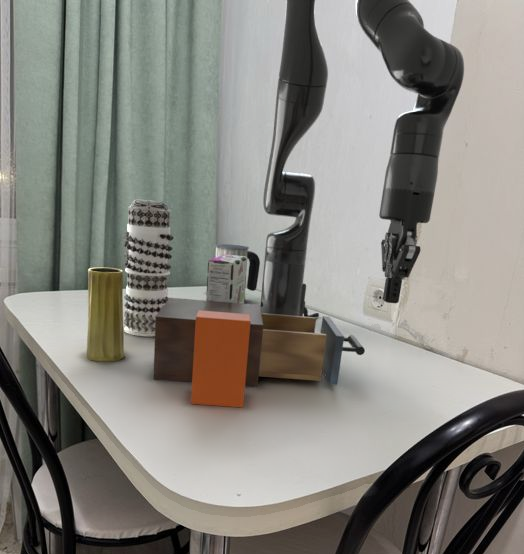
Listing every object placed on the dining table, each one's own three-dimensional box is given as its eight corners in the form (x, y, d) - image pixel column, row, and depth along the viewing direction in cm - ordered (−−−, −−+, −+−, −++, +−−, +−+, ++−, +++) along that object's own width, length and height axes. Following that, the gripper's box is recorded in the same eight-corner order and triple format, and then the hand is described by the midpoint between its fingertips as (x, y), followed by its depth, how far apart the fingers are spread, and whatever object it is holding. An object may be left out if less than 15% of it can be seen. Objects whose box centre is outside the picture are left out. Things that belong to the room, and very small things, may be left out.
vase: (131, 355, 85) (133, 270, 81) (110, 364, 80) (110, 274, 76) (101, 348, 87) (101, 265, 83) (77, 357, 81) (76, 269, 77)
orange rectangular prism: (242, 396, 72) (250, 314, 68) (243, 407, 68) (250, 321, 65) (193, 393, 71) (198, 310, 68) (190, 404, 68) (195, 316, 64)
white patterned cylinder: (158, 323, 107) (163, 201, 100) (177, 335, 100) (183, 203, 93) (116, 326, 102) (117, 197, 95) (132, 338, 95) (134, 199, 88)
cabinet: (255, 357, 90) (260, 304, 87) (257, 386, 76) (263, 325, 74) (167, 351, 89) (169, 297, 86) (153, 379, 75) (155, 316, 73)
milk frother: (231, 305, 132) (236, 248, 128) (185, 295, 140) (188, 241, 135) (261, 300, 143) (266, 247, 139) (217, 290, 151) (220, 240, 147)
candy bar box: (218, 335, 103) (224, 253, 98) (242, 338, 102) (249, 256, 97) (201, 349, 92) (207, 258, 88) (228, 353, 91) (234, 262, 87)
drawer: (347, 360, 90) (353, 318, 88) (364, 387, 78) (372, 338, 75) (242, 352, 89) (246, 309, 87) (242, 378, 76) (247, 328, 74)
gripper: (373, 187, 82) (358, 293, 87) (397, 184, 69) (377, 308, 74) (418, 192, 82) (401, 296, 87) (450, 190, 70) (427, 312, 74)
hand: (390, 302), depth 81 cm, fingers closed
